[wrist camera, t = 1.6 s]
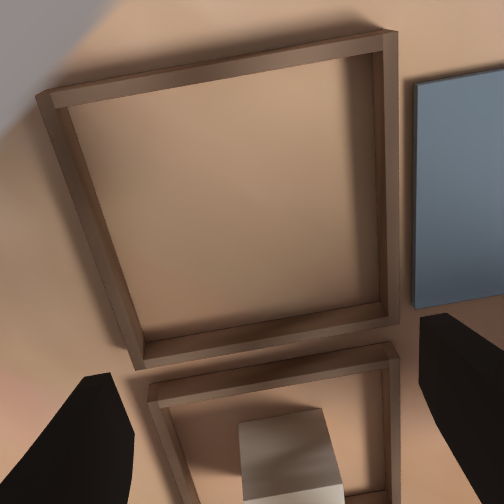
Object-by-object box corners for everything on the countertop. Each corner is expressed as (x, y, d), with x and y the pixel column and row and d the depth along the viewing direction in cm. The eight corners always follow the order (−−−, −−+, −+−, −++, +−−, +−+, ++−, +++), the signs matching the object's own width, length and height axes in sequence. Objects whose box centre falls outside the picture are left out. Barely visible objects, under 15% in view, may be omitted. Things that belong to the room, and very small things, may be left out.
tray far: (391, 341, 23) (399, 357, 22) (393, 493, 29) (400, 512, 28) (149, 384, 23) (147, 402, 22) (200, 527, 29) (199, 548, 28)
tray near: (386, 29, 16) (398, 31, 15) (390, 308, 22) (399, 323, 21) (46, 89, 16) (34, 95, 15) (138, 353, 22) (135, 370, 21)
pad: (601, 50, 17) (609, 51, 17) (559, 278, 22) (564, 283, 22) (413, 83, 17) (417, 85, 17) (411, 304, 22) (414, 309, 22)
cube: (321, 407, 25) (342, 483, 21) (328, 462, 27) (348, 541, 23) (237, 421, 25) (243, 501, 21) (251, 476, 27) (258, 557, 23)
